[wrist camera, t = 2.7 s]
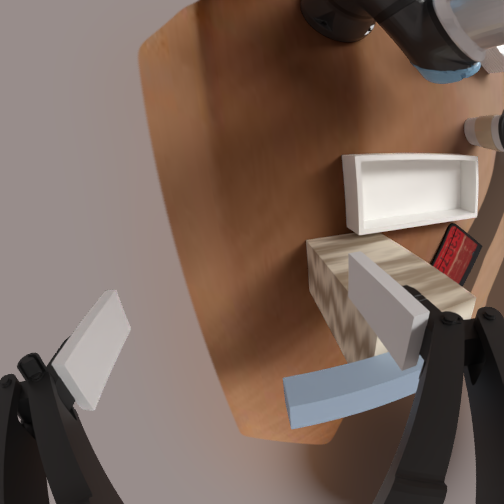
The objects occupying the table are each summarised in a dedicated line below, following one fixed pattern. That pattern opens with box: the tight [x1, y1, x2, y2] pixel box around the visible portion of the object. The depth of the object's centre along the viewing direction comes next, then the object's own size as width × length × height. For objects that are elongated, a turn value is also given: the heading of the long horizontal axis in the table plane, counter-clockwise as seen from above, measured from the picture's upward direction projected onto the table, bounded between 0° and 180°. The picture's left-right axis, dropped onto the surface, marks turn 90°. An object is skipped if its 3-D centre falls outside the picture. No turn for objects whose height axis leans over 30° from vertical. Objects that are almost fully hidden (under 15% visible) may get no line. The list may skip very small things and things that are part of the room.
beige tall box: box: [306, 232, 476, 364], centre depth 41 cm, size 11×15×30 cm
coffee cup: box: [464, 114, 504, 152], centre depth 40 cm, size 9×9×15 cm
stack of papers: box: [480, 45, 504, 74], centre depth 31 cm, size 32×11×11 cm, turn 157°
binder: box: [431, 223, 482, 286], centre depth 58 cm, size 16×2×21 cm
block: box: [283, 352, 424, 429], centre depth 25 cm, size 4×26×4 cm, turn 98°
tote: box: [342, 153, 478, 235], centre depth 48 cm, size 14×33×6 cm, turn 98°
